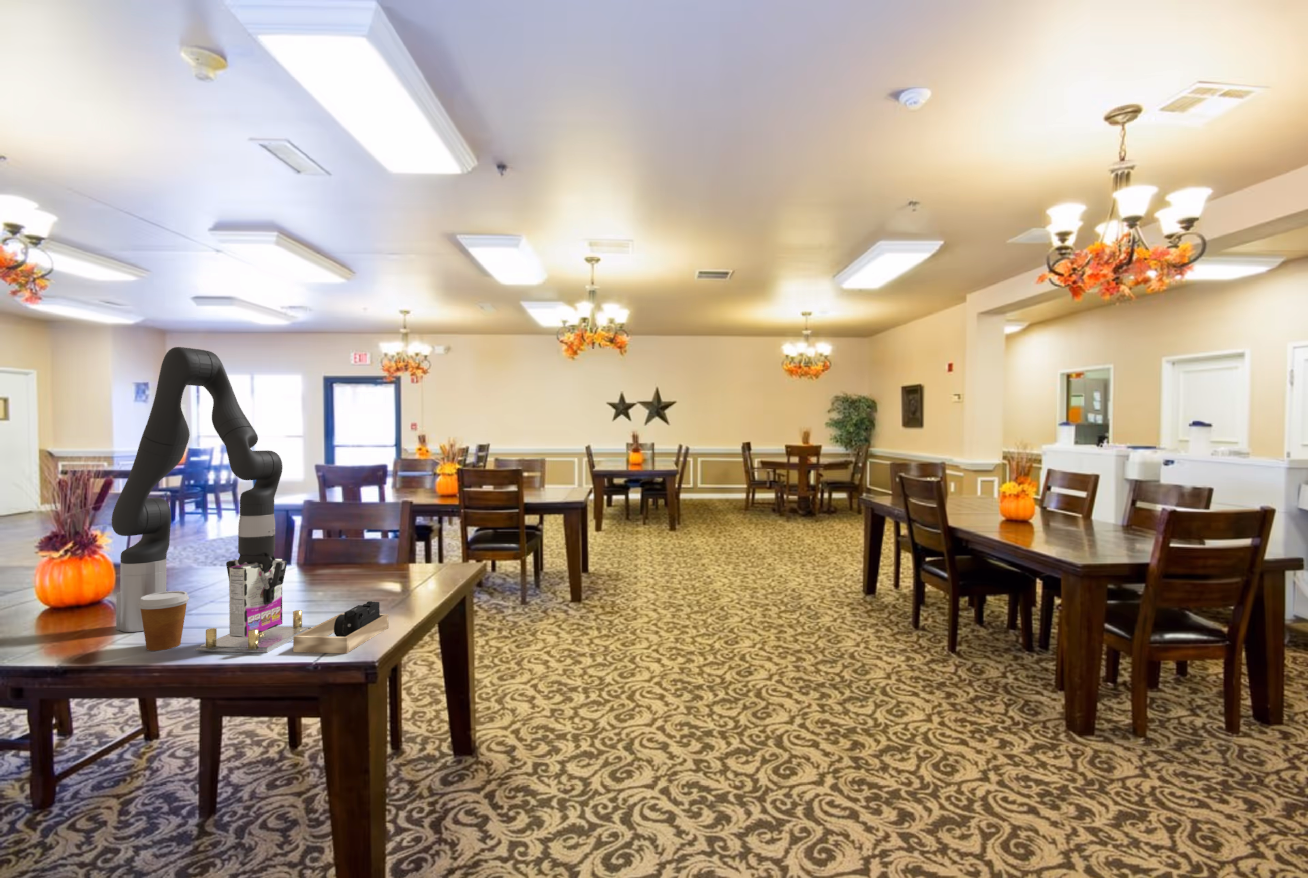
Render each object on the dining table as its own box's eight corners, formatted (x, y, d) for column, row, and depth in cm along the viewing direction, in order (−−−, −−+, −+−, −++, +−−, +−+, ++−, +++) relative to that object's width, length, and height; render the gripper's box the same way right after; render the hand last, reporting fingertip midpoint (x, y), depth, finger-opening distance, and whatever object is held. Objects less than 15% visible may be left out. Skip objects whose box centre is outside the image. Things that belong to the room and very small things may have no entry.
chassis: (195, 653, 141) (195, 630, 141) (251, 629, 159) (251, 609, 159) (262, 654, 140) (262, 631, 140) (311, 630, 158) (311, 610, 158)
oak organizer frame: (293, 652, 142) (293, 636, 142) (341, 626, 162) (341, 613, 162) (346, 653, 141) (346, 637, 141) (388, 627, 161) (388, 614, 161)
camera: (356, 627, 161) (356, 597, 161) (384, 628, 161) (384, 597, 161) (326, 646, 147) (326, 612, 147) (356, 646, 146) (356, 612, 146)
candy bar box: (265, 623, 156) (266, 557, 156) (283, 624, 155) (284, 558, 155) (227, 636, 145) (228, 566, 145) (245, 638, 144) (246, 567, 144)
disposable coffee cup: (147, 656, 139) (147, 602, 139) (130, 648, 144) (130, 596, 144) (196, 644, 147) (196, 593, 147) (178, 637, 152) (179, 588, 152)
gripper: (216, 535, 146) (215, 607, 146) (275, 536, 146) (274, 608, 146) (239, 530, 154) (239, 599, 154) (295, 531, 153) (295, 600, 153)
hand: (256, 603), depth 150 cm, fingers open, 5 cm apart
